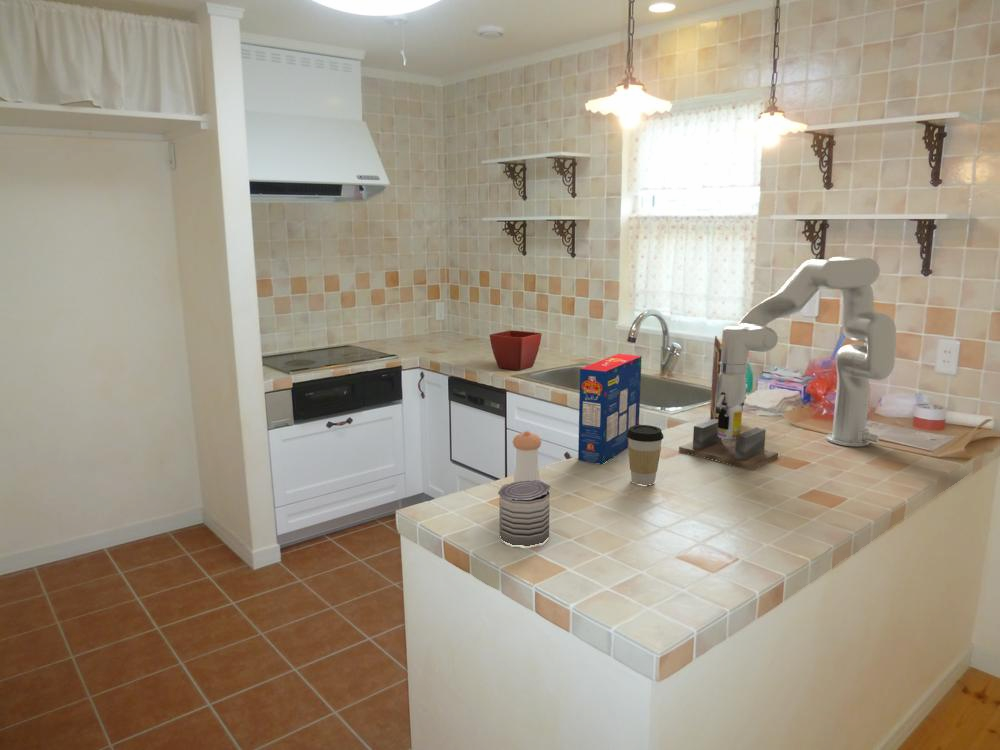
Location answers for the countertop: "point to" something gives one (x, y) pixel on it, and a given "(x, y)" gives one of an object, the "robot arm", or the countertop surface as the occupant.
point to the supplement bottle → (732, 424)
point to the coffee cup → (644, 452)
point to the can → (524, 512)
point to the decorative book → (715, 376)
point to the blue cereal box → (608, 406)
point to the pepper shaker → (526, 456)
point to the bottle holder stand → (729, 446)
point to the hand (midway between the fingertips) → (729, 425)
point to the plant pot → (515, 349)
